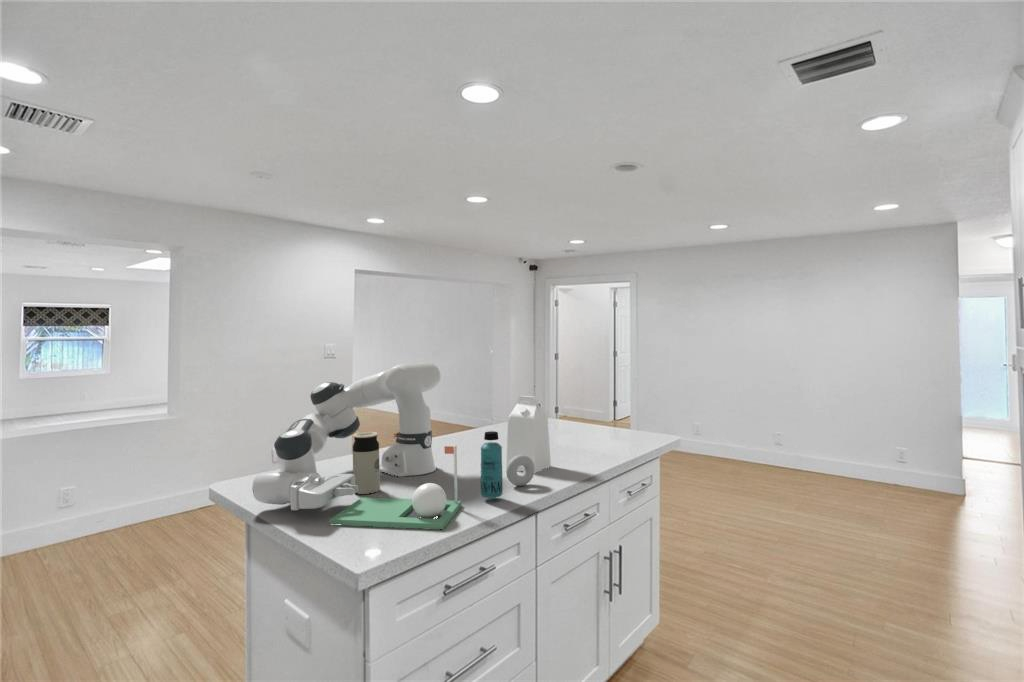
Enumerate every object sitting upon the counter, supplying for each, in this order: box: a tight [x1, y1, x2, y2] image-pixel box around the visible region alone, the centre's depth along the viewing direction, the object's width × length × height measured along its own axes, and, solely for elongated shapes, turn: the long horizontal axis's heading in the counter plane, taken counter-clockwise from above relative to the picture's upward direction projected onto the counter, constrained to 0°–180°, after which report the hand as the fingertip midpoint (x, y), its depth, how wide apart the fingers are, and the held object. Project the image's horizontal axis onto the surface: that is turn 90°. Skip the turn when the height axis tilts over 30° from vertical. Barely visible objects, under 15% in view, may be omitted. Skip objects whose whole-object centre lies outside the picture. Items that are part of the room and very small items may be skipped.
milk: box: [506, 395, 552, 474], centre depth 184 cm, size 12×12×26 cm
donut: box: [505, 455, 535, 487], centre depth 162 cm, size 10×4×10 cm, turn 119°
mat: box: [330, 445, 463, 531], centre depth 137 cm, size 30×18×18 cm, turn 81°
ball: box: [411, 482, 447, 518], centre depth 134 cm, size 9×9×9 cm
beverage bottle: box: [480, 430, 504, 499], centre depth 148 cm, size 6×7×20 cm
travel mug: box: [352, 431, 381, 495], centre depth 159 cm, size 8×8×18 cm
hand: (355, 490), depth 139 cm, fingers closed
